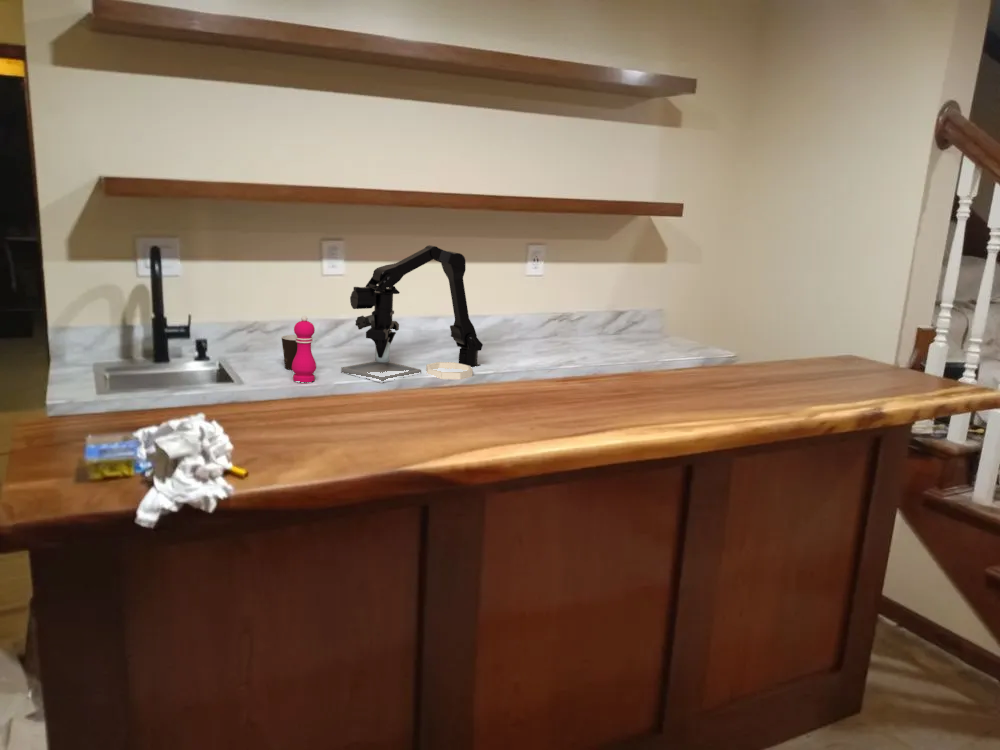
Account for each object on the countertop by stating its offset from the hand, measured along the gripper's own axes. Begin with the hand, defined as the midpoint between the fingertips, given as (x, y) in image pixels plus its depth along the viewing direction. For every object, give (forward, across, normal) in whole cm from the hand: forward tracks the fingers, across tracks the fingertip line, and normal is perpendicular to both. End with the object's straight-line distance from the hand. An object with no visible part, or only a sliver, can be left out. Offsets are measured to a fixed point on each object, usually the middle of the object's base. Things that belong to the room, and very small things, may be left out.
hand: (382, 356), depth 254 cm
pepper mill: (+6, +18, -20) cm, 27 cm away
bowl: (+6, -6, +21) cm, 23 cm away
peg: (+2, 0, 0) cm, 2 cm away
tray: (+6, 0, 0) cm, 6 cm away
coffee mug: (+6, +2, -28) cm, 28 cm away
